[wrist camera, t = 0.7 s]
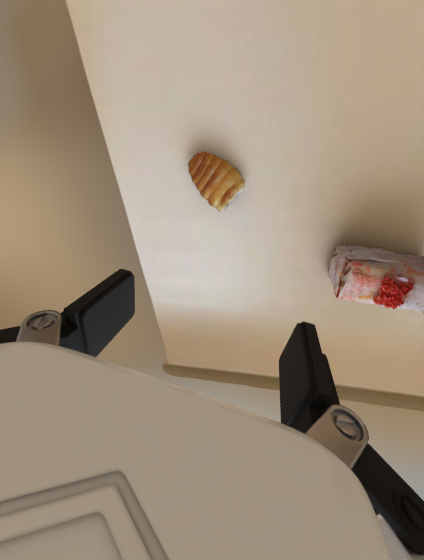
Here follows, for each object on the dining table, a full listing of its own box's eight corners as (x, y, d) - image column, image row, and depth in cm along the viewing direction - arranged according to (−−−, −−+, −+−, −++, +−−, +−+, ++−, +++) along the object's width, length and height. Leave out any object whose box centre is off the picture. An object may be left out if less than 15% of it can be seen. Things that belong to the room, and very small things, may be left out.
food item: (320, 280, 40) (332, 311, 31) (332, 238, 36) (351, 261, 27) (404, 290, 37) (443, 327, 29) (428, 246, 33) (481, 274, 25)
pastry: (183, 175, 37) (174, 176, 34) (206, 138, 34) (200, 136, 30) (223, 213, 38) (219, 217, 35) (250, 181, 35) (248, 183, 32)
